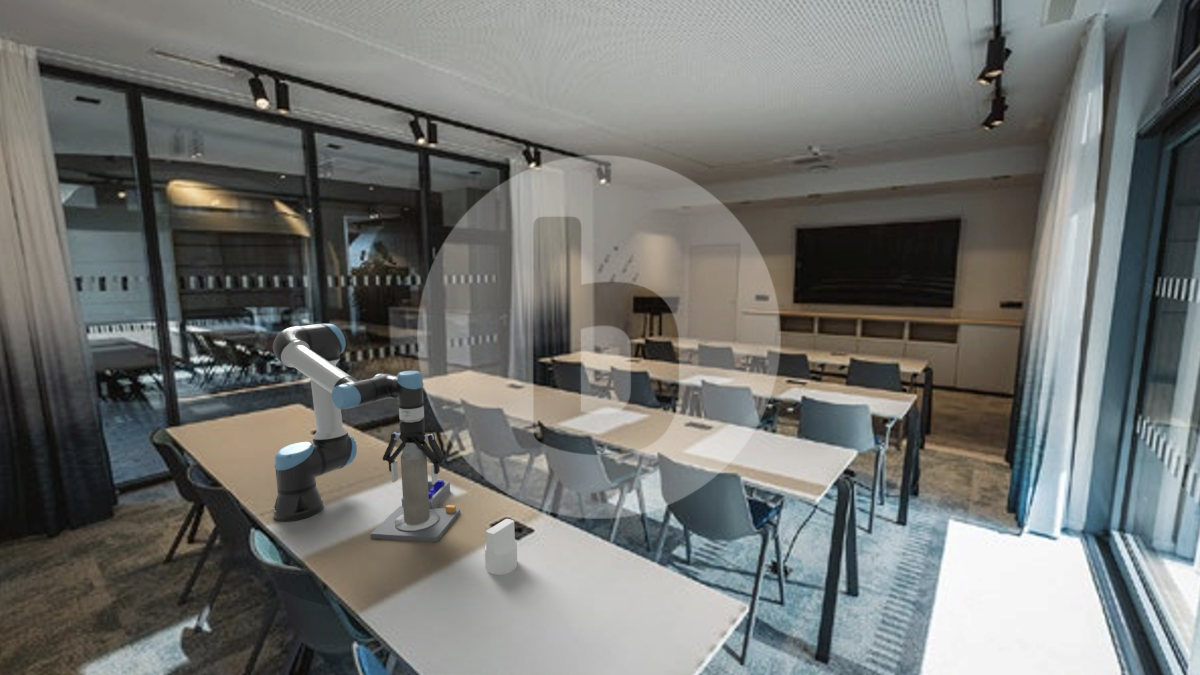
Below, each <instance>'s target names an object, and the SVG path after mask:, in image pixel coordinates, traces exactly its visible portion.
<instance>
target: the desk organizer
mask: <svg viewBox="0 0 1200 675" xmlns="http://www.w3.org/2000/svg"><path fill="white" fill-rule="evenodd" d="M450 483H451V482H450V481H444V485H443V486H442V487H441V488H440V489H439V490H438V491H437V492H436V493H435V494H434V495H433V497H432V498H431V499H429V508H437V507H438V506H439V504H440V503H441V502H442V501H443V500H444V499H445V498H446V497H447V496H448V495H449V494H450V493H451V484H450ZM432 487H434V485H433V484H432V480H428V492H429V490H430V489H431V488H432ZM401 506H403V497H402V498H401Z"/></svg>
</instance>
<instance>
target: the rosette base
mask: <svg viewBox="0 0 1200 675" xmlns="http://www.w3.org/2000/svg"><path fill="white" fill-rule="evenodd" d="M456 506H457V505H456V504H447V505H446V506H445V508H443V507H441V508H440V507H439V508H438V507H435V508H429V512H430V518H429V520H428V521H426V522H424V523H422V524H418V525H408V524H406V523H405V522H404V509H403V506H402V505H400V506H399V507H397V508H396V509H395V510H394V511H393V512H392V513H391V514H390V515H388V517H386V518H385V519H384V521H382V522H381V523H380V524H379V525H378V526H377V527H375V528H374V530H373V531H371V533H369V536H370V539H379V540H395V541H396V540H397V541H413V542H427V543H429V542H431V543H432V542H433V543H438V542H439V540H440V539H441V538H442V537H443V535H445V534H446V532H447V531H448V530H449V528H450V527H451V526H452V524H453V523H454V522H455V521H456V519H457V518H458V517H459V516H460V514H461V509H460V508H459V509H458V508H457V507H456Z"/></svg>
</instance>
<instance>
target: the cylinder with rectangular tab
mask: <svg viewBox="0 0 1200 675" xmlns="http://www.w3.org/2000/svg"><path fill="white" fill-rule="evenodd" d="M515 532H516V531H515V521H514V520H513V519H510V518H505V519H503V520H502V521H500V522H498V523H496V524H494V525H493V526H491V527H490V528H488V529H486V530H485V546H484V561H485V562H484V566H485V567H484V568H485V570H486V571H487V573H489V574H491V575H492V574H493V575H495V576H496V575H497V576H499V575H506V574H509V573H511V572H513V571H514V570H515V569H516V568H517V567H518V544H517V541H516V539H515V537H516V536H515Z"/></svg>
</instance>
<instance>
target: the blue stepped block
mask: <svg viewBox="0 0 1200 675" xmlns="http://www.w3.org/2000/svg"><path fill="white" fill-rule="evenodd" d="M444 482H445V481H444V480H443V479H438V481H437V482H436V483H435V484H434V487H432V488H431V489H430V490H429V492H428V493H429V499H431V498H432V497H433V495H434V494H435V493H436V492H437V491H438V490H439V489H440V488H441V487H442V486H443V485H444Z"/></svg>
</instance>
